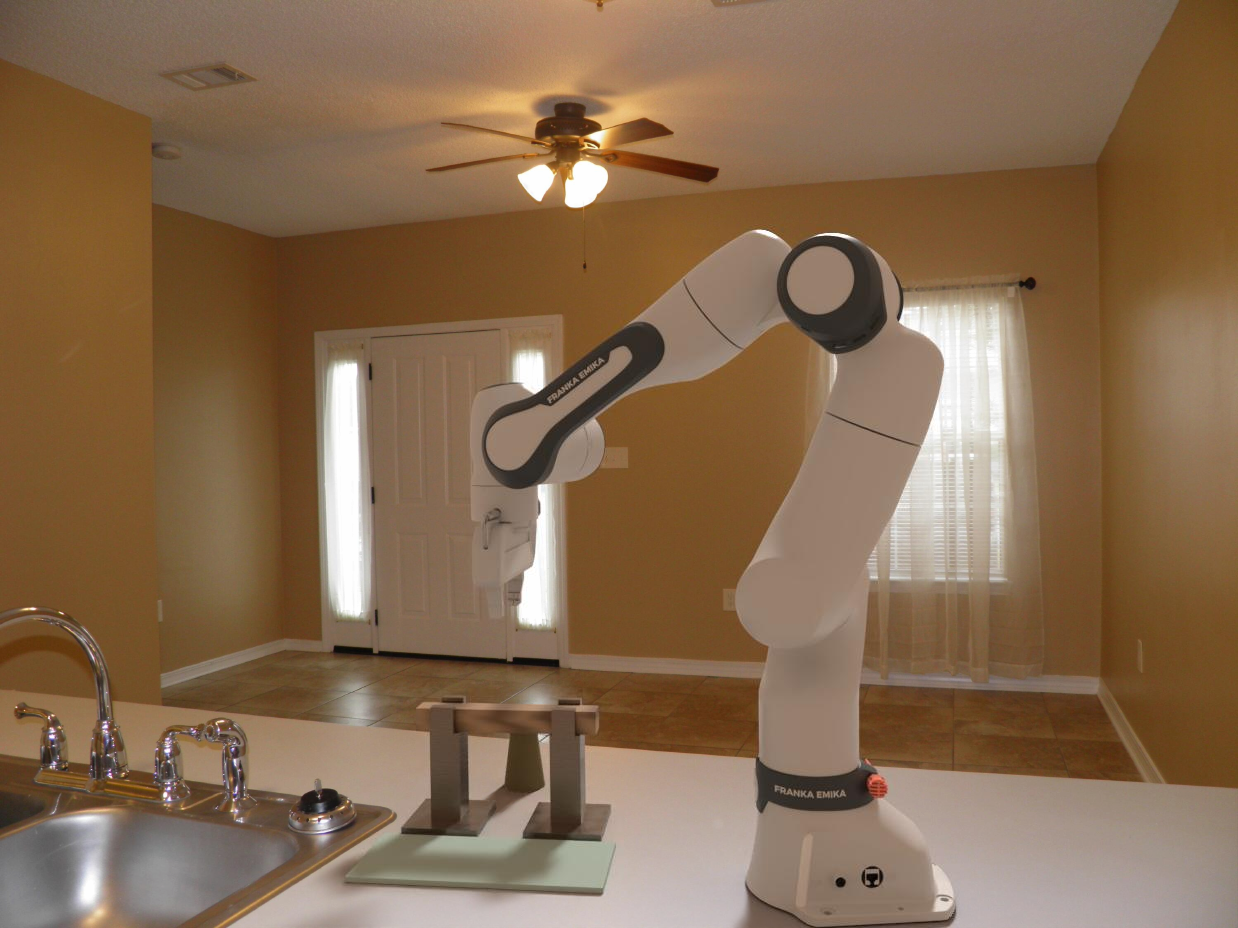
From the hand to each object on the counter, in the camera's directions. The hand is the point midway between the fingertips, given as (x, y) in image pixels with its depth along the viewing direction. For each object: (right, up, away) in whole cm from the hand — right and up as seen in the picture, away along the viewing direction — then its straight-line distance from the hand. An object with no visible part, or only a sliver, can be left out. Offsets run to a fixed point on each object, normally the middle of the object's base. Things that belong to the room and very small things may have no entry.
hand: (505, 611), depth 122 cm
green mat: (-1, -28, -12) cm, 31 cm away
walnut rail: (0, -16, 0) cm, 16 cm away
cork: (+1, -28, +14) cm, 32 cm away
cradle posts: (0, -28, 0) cm, 28 cm away
